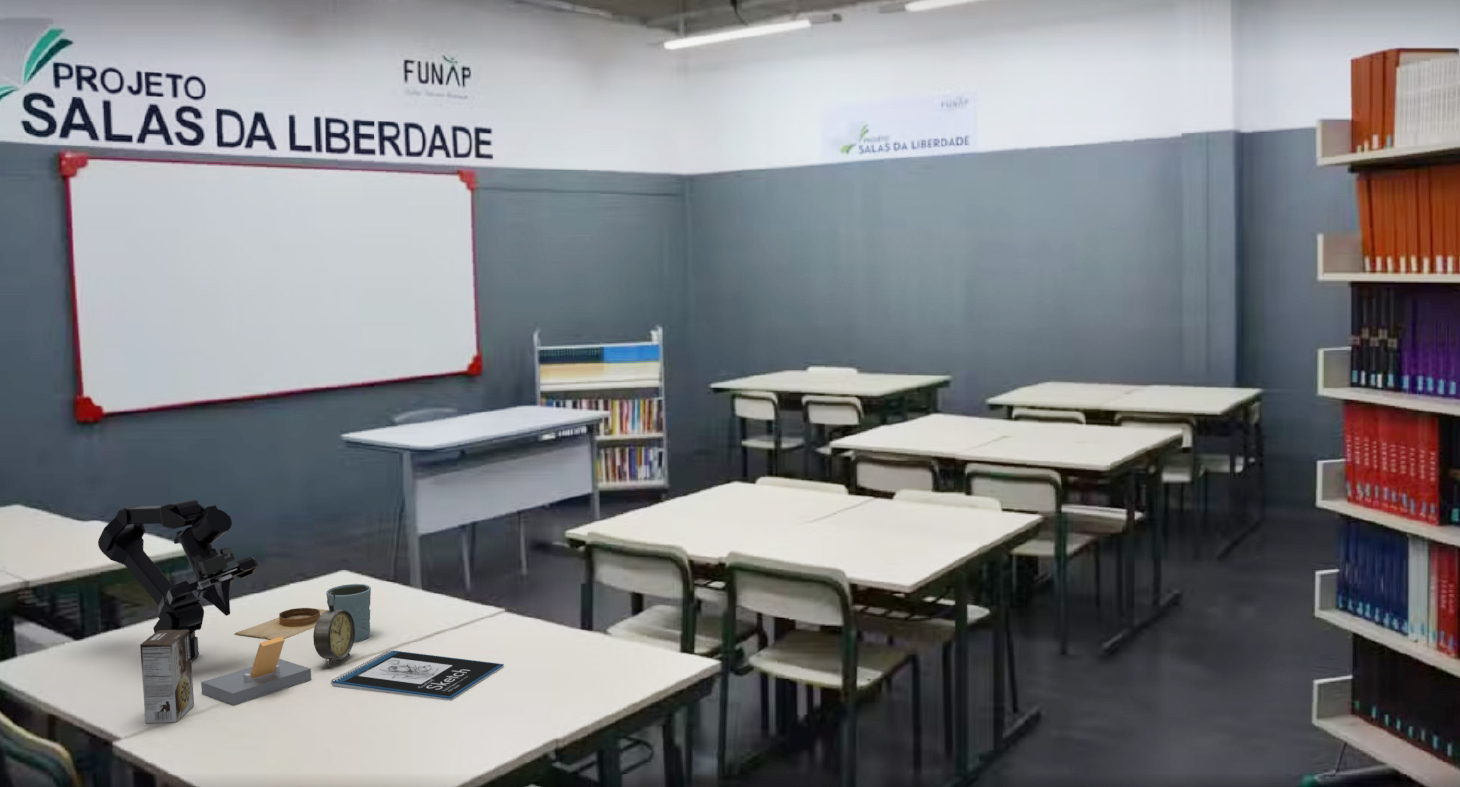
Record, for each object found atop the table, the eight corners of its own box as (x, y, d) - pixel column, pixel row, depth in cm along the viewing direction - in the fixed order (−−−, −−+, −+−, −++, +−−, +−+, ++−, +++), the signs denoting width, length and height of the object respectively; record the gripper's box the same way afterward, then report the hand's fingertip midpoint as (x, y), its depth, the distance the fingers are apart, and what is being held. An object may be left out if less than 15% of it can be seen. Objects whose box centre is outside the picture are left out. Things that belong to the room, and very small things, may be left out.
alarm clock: (332, 670, 253) (328, 599, 252) (310, 669, 254) (306, 598, 253) (357, 654, 264) (354, 586, 262) (336, 653, 265) (333, 585, 263)
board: (306, 609, 303) (306, 598, 303) (352, 615, 297) (351, 603, 297) (232, 637, 280) (231, 624, 280) (280, 644, 275) (279, 631, 274)
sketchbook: (451, 704, 234) (450, 694, 234) (328, 688, 244) (328, 679, 244) (503, 669, 255) (503, 660, 254) (388, 656, 264) (388, 647, 264)
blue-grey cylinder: (381, 635, 278) (379, 587, 277) (347, 646, 270) (345, 597, 269) (353, 629, 284) (351, 581, 283) (319, 640, 275) (317, 591, 274)
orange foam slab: (249, 675, 241) (259, 642, 237) (271, 668, 245) (281, 636, 241) (252, 678, 240) (262, 646, 237) (274, 672, 244) (284, 640, 241)
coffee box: (162, 706, 233) (157, 629, 231) (195, 705, 233) (190, 628, 232) (143, 724, 224) (138, 644, 222) (177, 722, 224) (172, 642, 223)
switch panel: (201, 693, 240) (200, 675, 240) (279, 669, 255) (278, 651, 254) (233, 705, 233) (232, 686, 233) (311, 679, 248) (310, 661, 247)
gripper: (160, 556, 243) (189, 622, 240) (247, 525, 255) (276, 587, 252) (155, 572, 252) (183, 635, 249) (239, 541, 263) (267, 602, 261)
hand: (228, 614), depth 252 cm, fingers closed
